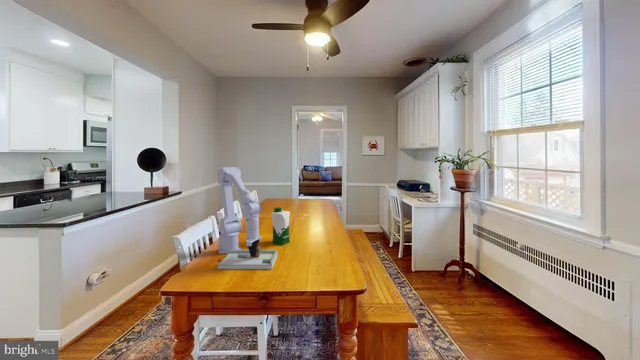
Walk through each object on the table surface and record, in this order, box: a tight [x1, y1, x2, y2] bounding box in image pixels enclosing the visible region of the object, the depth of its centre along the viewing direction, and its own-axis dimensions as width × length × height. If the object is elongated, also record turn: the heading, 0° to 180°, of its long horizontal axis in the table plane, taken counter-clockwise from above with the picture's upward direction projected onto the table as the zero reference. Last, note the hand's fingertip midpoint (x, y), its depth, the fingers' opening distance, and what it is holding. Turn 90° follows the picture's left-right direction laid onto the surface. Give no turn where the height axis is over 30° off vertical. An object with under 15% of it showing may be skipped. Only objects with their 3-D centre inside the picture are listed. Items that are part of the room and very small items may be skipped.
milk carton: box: [270, 206, 291, 246], centre depth 159 cm, size 9×9×20 cm
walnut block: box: [250, 245, 262, 257], centre depth 135 cm, size 4×4×4 cm
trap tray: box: [217, 249, 278, 270], centre depth 132 cm, size 24×16×3 cm, turn 90°
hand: (253, 255), depth 132 cm, fingers closed
